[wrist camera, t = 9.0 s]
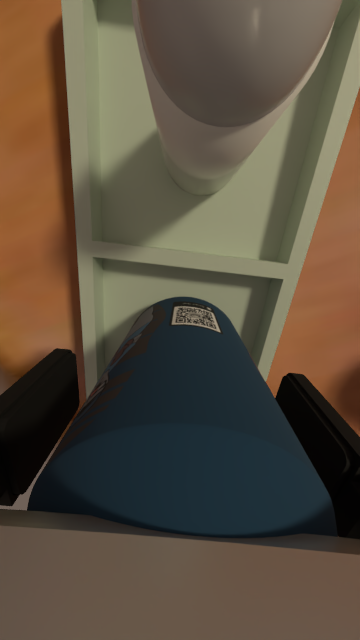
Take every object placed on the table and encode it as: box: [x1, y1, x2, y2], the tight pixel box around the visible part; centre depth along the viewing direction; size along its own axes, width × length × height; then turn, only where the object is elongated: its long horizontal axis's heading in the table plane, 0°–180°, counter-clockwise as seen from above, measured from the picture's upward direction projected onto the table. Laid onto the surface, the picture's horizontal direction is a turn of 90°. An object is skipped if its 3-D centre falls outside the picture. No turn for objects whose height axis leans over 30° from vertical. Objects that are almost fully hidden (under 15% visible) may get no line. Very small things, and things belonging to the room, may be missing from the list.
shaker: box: [132, 0, 342, 196], centre depth 6 cm, size 4×4×9 cm
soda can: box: [27, 297, 338, 538], centre depth 9 cm, size 7×7×12 cm
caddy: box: [61, 0, 360, 400], centre depth 12 cm, size 22×12×2 cm, turn 174°
